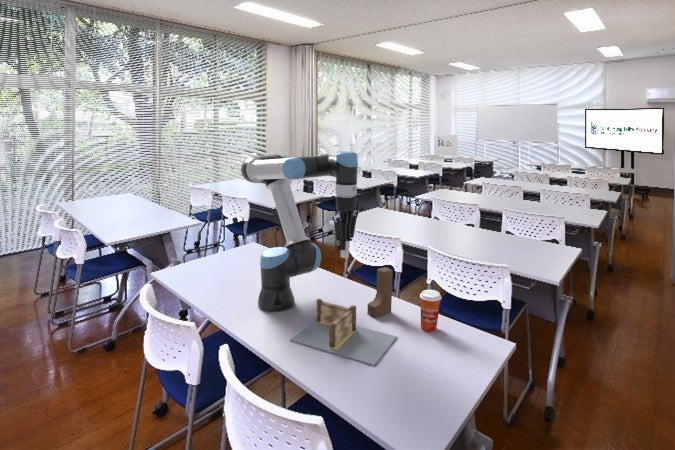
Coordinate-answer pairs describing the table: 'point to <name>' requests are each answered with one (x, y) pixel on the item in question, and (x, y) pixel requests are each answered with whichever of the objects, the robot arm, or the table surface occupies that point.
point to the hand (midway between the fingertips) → (344, 257)
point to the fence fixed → (333, 312)
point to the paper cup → (429, 309)
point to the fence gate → (340, 328)
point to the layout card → (347, 342)
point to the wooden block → (382, 293)
